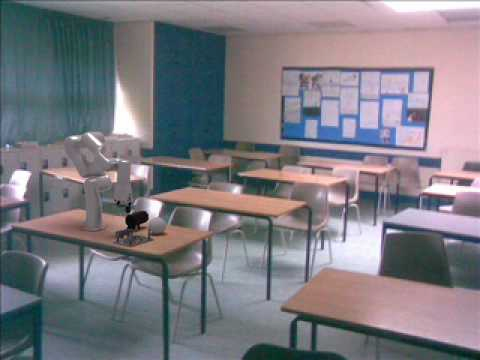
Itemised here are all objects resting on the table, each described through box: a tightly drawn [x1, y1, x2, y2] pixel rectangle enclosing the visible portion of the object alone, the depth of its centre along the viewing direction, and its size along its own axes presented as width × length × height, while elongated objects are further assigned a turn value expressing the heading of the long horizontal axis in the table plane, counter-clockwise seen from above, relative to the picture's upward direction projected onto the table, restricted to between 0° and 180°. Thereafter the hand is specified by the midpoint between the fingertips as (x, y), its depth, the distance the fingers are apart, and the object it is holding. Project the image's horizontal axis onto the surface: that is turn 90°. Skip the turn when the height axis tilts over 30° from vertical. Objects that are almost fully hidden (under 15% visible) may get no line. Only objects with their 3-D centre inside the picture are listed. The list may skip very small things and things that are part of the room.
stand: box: [115, 228, 134, 239], centre depth 313 cm, size 10×4×3 cm, turn 147°
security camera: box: [124, 210, 150, 231], centre depth 327 cm, size 7×18×10 cm, turn 156°
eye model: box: [148, 216, 167, 235], centre depth 318 cm, size 10×10×10 cm
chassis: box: [113, 225, 154, 248], centre depth 301 cm, size 18×13×7 cm
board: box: [110, 202, 136, 214], centre depth 311 cm, size 12×7×4 cm, turn 147°
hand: (123, 211), depth 311 cm, fingers closed on board, 7 cm apart
